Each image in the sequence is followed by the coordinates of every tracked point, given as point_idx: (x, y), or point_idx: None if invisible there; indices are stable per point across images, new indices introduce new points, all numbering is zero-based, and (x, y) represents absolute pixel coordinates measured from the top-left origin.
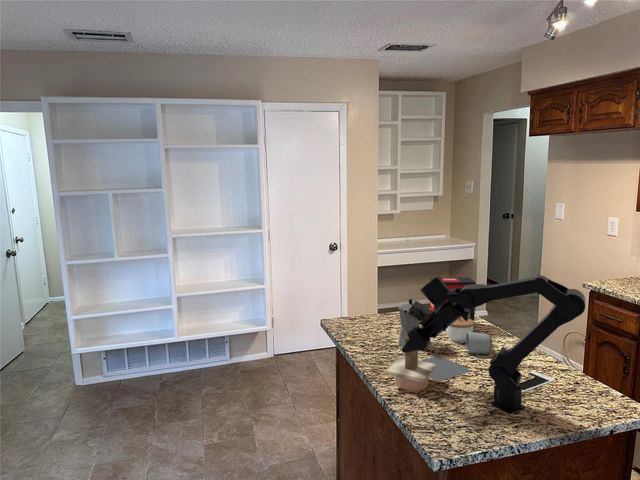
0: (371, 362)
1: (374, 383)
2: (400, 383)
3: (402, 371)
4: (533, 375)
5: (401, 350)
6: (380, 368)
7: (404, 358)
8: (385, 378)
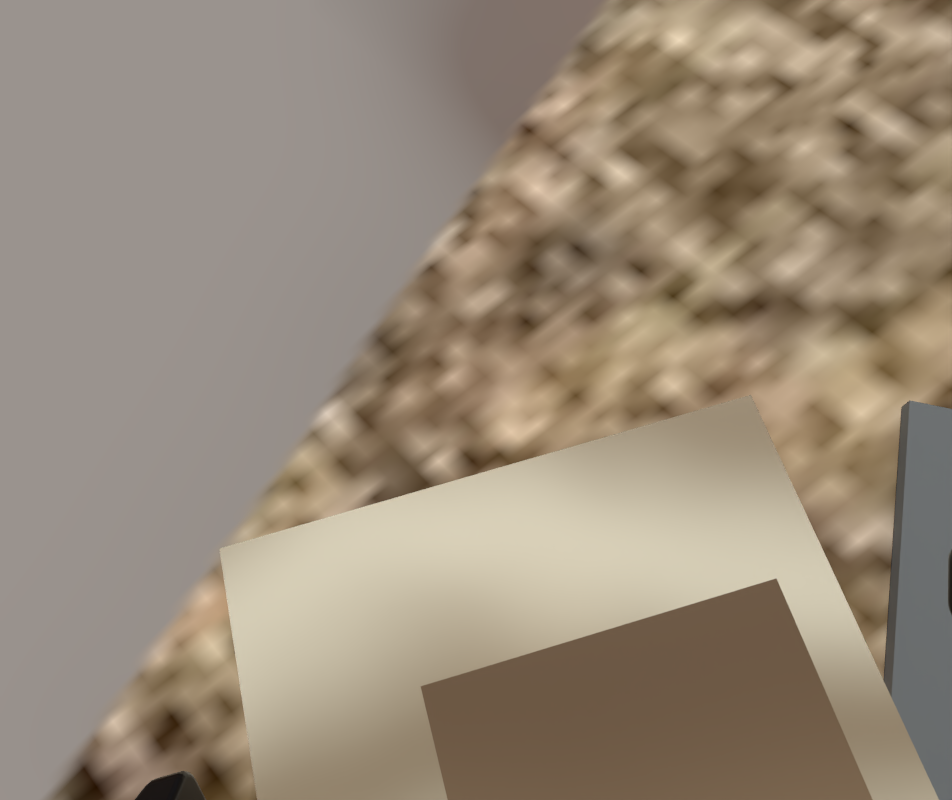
0: (667, 136)
1: (308, 438)
2: None
3: (354, 750)
4: None
5: (152, 789)
6: (628, 269)
7: (765, 474)
8: (479, 444)
